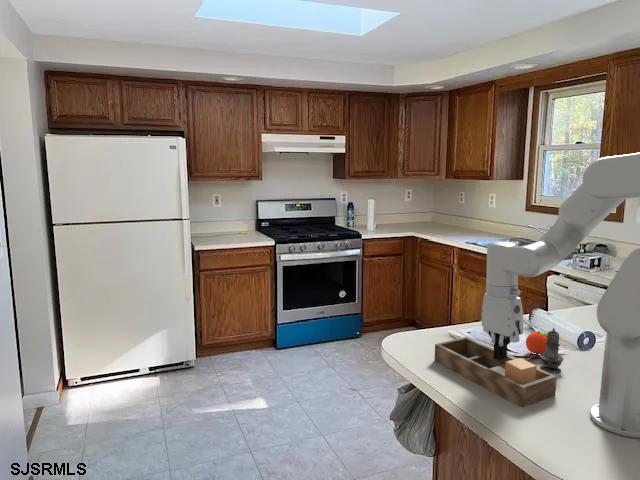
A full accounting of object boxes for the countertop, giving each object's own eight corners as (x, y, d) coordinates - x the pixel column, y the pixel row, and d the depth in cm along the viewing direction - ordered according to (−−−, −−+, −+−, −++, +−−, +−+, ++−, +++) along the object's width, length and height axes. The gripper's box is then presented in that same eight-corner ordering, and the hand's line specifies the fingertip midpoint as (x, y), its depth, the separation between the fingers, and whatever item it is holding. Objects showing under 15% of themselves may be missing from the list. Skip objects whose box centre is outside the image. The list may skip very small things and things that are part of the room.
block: (535, 384, 117) (536, 365, 116) (520, 389, 115) (521, 369, 114) (519, 376, 121) (520, 358, 121) (504, 380, 119) (505, 361, 119)
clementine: (551, 351, 143) (553, 328, 142) (556, 360, 137) (558, 337, 135) (523, 349, 145) (524, 326, 144) (527, 358, 138) (528, 335, 137)
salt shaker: (565, 375, 128) (568, 332, 126) (541, 373, 129) (545, 331, 127) (558, 365, 133) (562, 325, 131) (536, 364, 134) (539, 323, 132)
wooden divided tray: (555, 395, 117) (556, 376, 116) (522, 407, 111) (523, 387, 110) (465, 352, 143) (465, 336, 142) (434, 360, 137) (435, 344, 136)
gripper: (537, 294, 117) (534, 365, 119) (489, 282, 130) (487, 346, 132) (516, 299, 113) (514, 371, 116) (469, 286, 126) (468, 352, 129)
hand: (500, 358), depth 124 cm, fingers closed
